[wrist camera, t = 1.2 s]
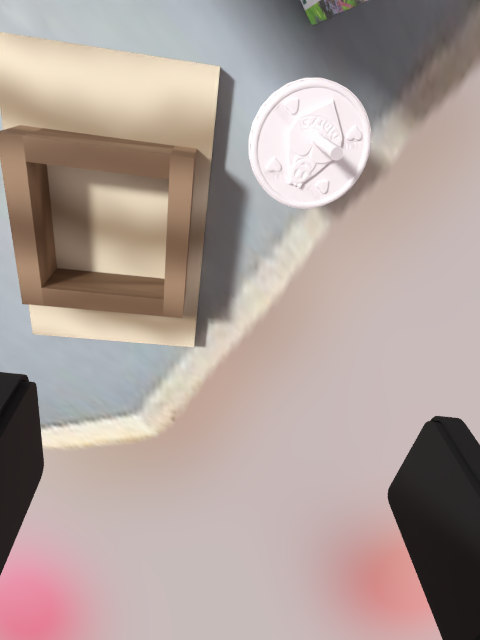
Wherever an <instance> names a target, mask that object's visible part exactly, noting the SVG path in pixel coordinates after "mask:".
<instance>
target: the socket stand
mask: <svg viewBox="0 0 480 640" xmlns="http://www.w3.org/2000/svg"><path fill="white" fill-rule="evenodd" d="M219 73H220V66H214V65H207V64H201V63H194V62H188V61H181V60H175V59H169V58H162V57H156V56H149V55H143V54H136V53H130V52H124V51H117V50H111V49H104V48H98V47H92V46H85V45H79V44H72V43H66V42H59V41H53V40H47V39H40V38H34V37H27V36H21V35H14V34H8V33H2V32H0V109H1V116H2V123H3V130H2V131H0V160H1V167H2V173H3V180H4V186H5V193H6V199H7V206H8V212H9V219H10V225H11V232H12V239H13V245H14V252H15V258H16V265H17V271H18V278H19V284H20V291H21V297H22V304H28V305H29V310H30V317H31V324H32V331H33V334H38V335H50V336H62V337H74V338H87V339H99V340H111V341H123V342H136V343H148V344H160V345H172V346H185V347H194V341H195V330H196V319H197V309H198V298H199V287H200V276H201V266H202V255H203V244H204V234H205V223H206V212H207V201H208V191H209V180H210V169H211V159H212V148H213V137H214V126H215V116H216V105H217V94H218V84H219Z"/></svg>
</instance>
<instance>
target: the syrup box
mask: <svg viewBox="0 0 480 640" xmlns="http://www.w3.org/2000/svg"><path fill="white" fill-rule="evenodd" d="M366 1H369V0H301V3H302V5H303V7H304V10H305V12H306V14H307V16H308V18H309V21H310V23H311V25H315V24H317V23H320V22H322V21H324V20H326V19H328V18H330V17H332V16H335V15H337V14H339V13H341V12H344V11H346V10H348V9H350V8H352V7H355V6H357V5H359V4H361V3H364V2H366Z"/></svg>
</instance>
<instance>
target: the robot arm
mask: <svg viewBox="0 0 480 640" xmlns="http://www.w3.org/2000/svg"><path fill="white" fill-rule="evenodd" d="M43 467H44V459H43V449H42V438H41V428H40V417H39V407H38V397H37V387H36V383H35V382H29V380H28V377H27V375H23V374H13V373H3V372H0V575H1V572H2V570H3V568H4V565H5V563H6V561H7V558H8V556H9V553H10V551H11V549H12V546H13V544H14V541H15V539H16V536H17V534H18V532H19V529H20V527H21V525H22V522H23V520H24V517H25V515H26V513H27V510H28V508H29V506H30V503H31V501H32V498H33V496H34V494H35V491H36V489H37V486H38V484H39V481H40V479H41V476H42V473H43ZM388 501H389V504H390V507H391V509H392V512H393V514H394V517H395V519H396V522H397V525H398V527H399V530H400V532H401V534H402V537H403V540H404V542H405V545H406V547H407V550H408V552H409V555H410V557H411V560H412V563H413V565H414V568H415V570H416V573H417V575H418V578H419V580H420V583H421V585H422V588H423V591H424V593H425V596H426V598H427V601H428V603H429V606H430V608H431V611H432V613H433V616H434V619H435V621H436V624H437V626H438V629H439V631H440V634H441V636H442V639H443V640H480V445H479V443H478V442H477V440H476V439H475V437H474V436H473V435H472V433H471V432H470V430H469V429H468V427H467V426H466V424H465V423H464V422H463V421H462V420H461V419H459V418H452V417H441V416H435V417H434V418H432V419H431V421H428V422H426V423H425V425H424V426H423V428H422V430H421V432H420V433H419V435H418V437H417V439H416V441H415V443H414V444H413V446H412V448H411V449H410V451H409V453H408V455H407V457H406V459H405V460H404V462H403V464H402V466H401V467H400V469H399V471H398V473H397V475H396V476H395V478H394V480H393V482H392V483H391V485H390V487H389V490H388Z"/></svg>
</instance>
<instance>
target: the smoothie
mask: <svg viewBox="0 0 480 640" xmlns="http://www.w3.org/2000/svg"><path fill="white" fill-rule="evenodd" d="M370 148H371V128H370V122H369V119H368V116H367V113H366V111H365V109H364V107H363V105H362V104H361V102H360V101H359V99H358V98H357V97H356V96H355V95H354V94H353V93H352V92H351V91H350V90H348V89H347V88H346V87H344V86H342V85H340V84H338V83H337V82H334V81H330V80H327V79H324V78H302V79H299V80H296V81H293V82H290V83H287V84H286V85H284V86H283V87H281V88H280V89H278V90H277V91H275V92H274V93H273V94H272V95H271V96H270V97H269V98H268V99H267V100H266V101H265V103H264V104H263V105H262V106H261V108H260V109H259V111H258V113H257V115H256V117H255V119H254V121H253V124H252V128H251V132H250V136H249V159H250V163H251V167H252V171H253V173H254V175H255V176H256V178H257V180H258V182H259V184H260V185H261V186H262V187H263V188H264V190H265V191H266V192H267V193H268V194H269V195H270V196H271V197H273V198H274V199H275V200H277V201H279V202H280V203H282V204H285V205H287V206H290V207H294V208H302V209H308V208H316V207H320V206H324V205H326V204H329V203H331V202H333V201H335V200H337V199H338V198H340V197H341V196H343V195H344V194H345V193H346V192H347V191H348V190H349V189H350V188H351V187H352V186H353V185H354V184H355V183H356V181H357V180H358V179H359V177H360V175H361V174H362V172H363V170H364V168H365V166H366V163H367V160H368V157H369V153H370Z"/></svg>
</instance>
